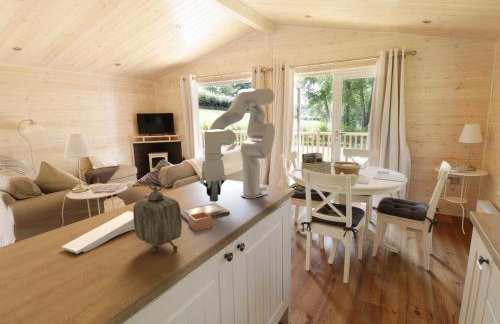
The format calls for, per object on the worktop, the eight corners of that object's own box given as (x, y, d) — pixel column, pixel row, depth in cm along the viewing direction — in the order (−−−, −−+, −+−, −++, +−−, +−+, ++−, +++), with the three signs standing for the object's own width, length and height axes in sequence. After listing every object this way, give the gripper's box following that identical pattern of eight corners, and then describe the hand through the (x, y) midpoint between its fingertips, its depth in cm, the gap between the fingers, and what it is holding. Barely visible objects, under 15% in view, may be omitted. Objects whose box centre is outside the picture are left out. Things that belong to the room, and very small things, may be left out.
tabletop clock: (183, 249, 94) (179, 178, 90) (161, 261, 87) (156, 184, 83) (156, 239, 102) (151, 173, 98) (134, 249, 95) (128, 178, 91)
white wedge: (81, 270, 93) (144, 229, 117) (79, 253, 90) (144, 215, 114) (62, 258, 96) (127, 220, 120) (60, 241, 93) (127, 206, 117)
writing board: (215, 205, 141) (215, 202, 140) (229, 214, 128) (229, 210, 128) (177, 213, 130) (177, 209, 130) (188, 223, 117) (188, 219, 117)
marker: (215, 198, 134) (215, 178, 132) (219, 200, 130) (219, 180, 129) (208, 200, 131) (207, 179, 130) (211, 202, 128) (211, 181, 127)
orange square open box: (204, 221, 119) (204, 211, 119) (211, 227, 113) (211, 216, 113) (188, 225, 116) (188, 215, 115) (195, 231, 110) (194, 220, 109)
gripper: (225, 154, 135) (225, 191, 138) (192, 157, 126) (194, 195, 129) (232, 156, 129) (233, 194, 132) (199, 159, 120) (200, 199, 123)
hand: (213, 194), depth 130 cm, fingers closed on marker, 4 cm apart
